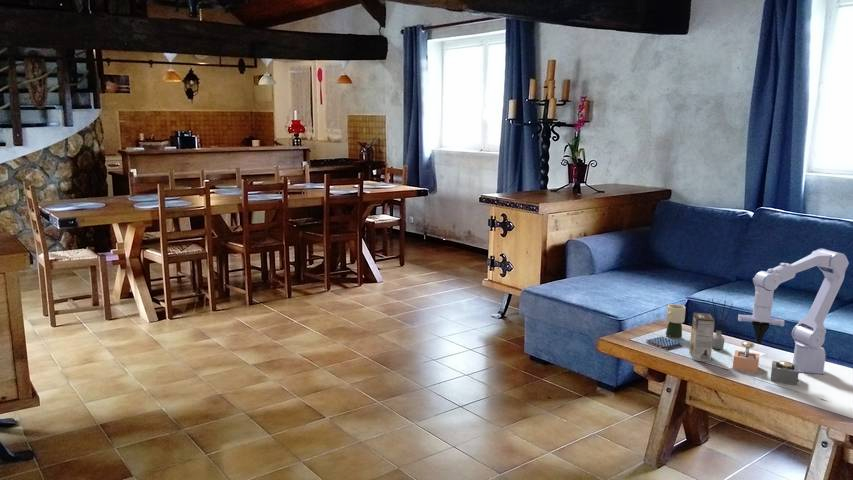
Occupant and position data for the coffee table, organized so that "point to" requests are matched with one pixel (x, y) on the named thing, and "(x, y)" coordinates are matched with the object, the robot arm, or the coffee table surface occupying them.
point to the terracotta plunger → (747, 349)
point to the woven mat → (664, 343)
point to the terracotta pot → (746, 362)
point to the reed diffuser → (718, 332)
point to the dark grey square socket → (784, 373)
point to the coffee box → (701, 336)
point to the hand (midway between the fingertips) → (758, 342)
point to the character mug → (675, 320)
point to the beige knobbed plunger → (785, 364)
